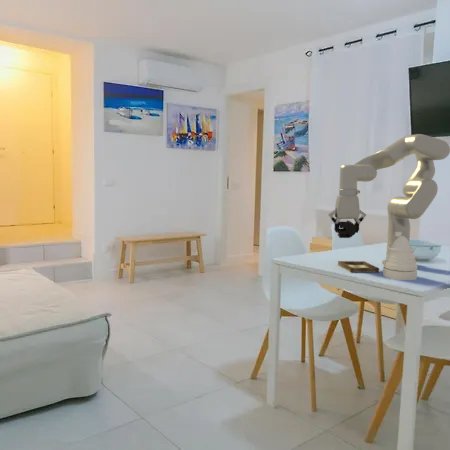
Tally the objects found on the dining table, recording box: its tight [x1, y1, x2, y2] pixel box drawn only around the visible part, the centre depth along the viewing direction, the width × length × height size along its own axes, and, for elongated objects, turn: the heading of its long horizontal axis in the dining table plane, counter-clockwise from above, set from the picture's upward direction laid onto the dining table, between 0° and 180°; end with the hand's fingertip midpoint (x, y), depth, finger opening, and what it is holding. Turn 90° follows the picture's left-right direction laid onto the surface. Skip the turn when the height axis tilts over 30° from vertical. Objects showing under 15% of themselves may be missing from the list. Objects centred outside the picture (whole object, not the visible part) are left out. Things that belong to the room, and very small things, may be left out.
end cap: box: [337, 219, 356, 239], centre depth 198 cm, size 10×7×7 cm
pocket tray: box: [337, 260, 380, 273], centre depth 195 cm, size 12×15×2 cm
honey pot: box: [382, 232, 418, 281], centre depth 180 cm, size 13×13×18 cm
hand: (346, 232), depth 198 cm, fingers closed on end cap, 8 cm apart
